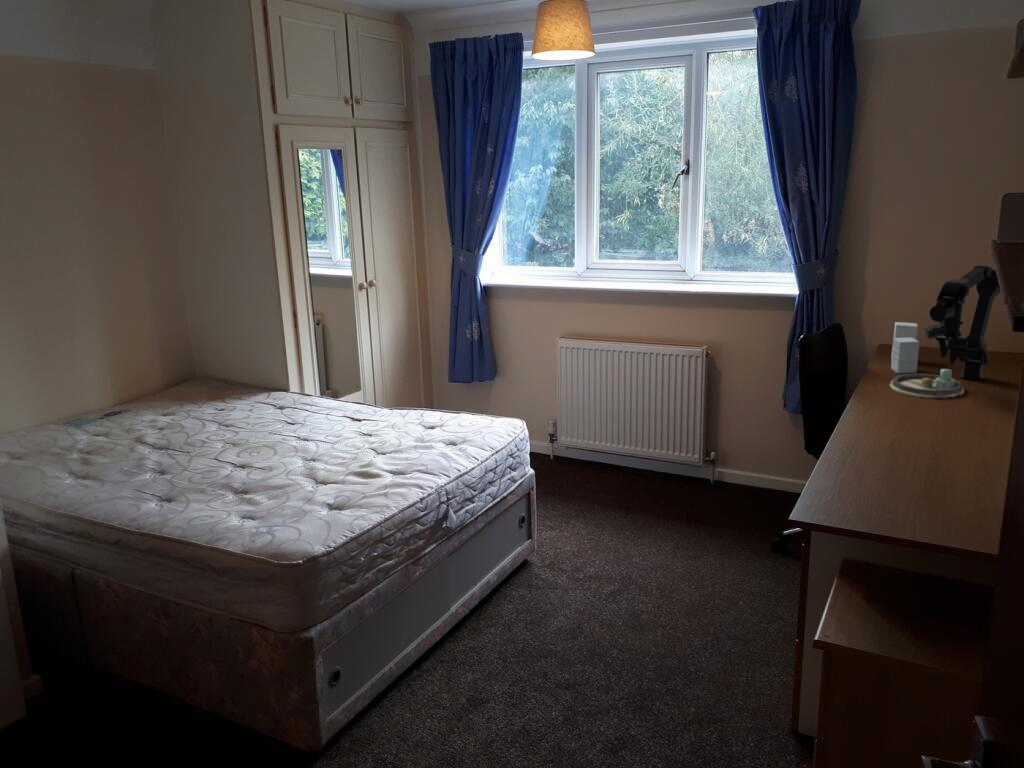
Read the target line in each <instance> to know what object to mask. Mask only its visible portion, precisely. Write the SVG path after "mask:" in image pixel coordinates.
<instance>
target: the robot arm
mask: <svg viewBox="0 0 1024 768" xmlns="http://www.w3.org/2000/svg"><path fill="white" fill-rule="evenodd" d="M996 271H997V270H995V269H993V267H991V266H989V265H979V264H978V265H975V266H974V267H973V268H972V269H971V270H970V271H968V272H966V273H965V274H964V275H963V276H961V277H960V278H956V279H950V280H948V281H947V280H946V281H945V283H944V284H943V285H942V286H941V288H940V291H939V293H938V295H937V297H936V300H935V301H936V303H935V305H934V306H932V307H931V308H930V310H929V318H931V320H932V321H933V322H937V323H936V324H932V325H928V326H926V327H923V329H922V330H923V333H924V336H925V338H927V339H929V340H931V339H935V340H936V341H937V343H938V347H939V350H940V351H939V353H940V357H941V358H945V357H946V356H947V353H948V357H949V359H948V360H949V364H951V365H952V364H954V363H955V362H956V361H957V359H958V360H959V362H962V363H963V362H964V364H963V365H964V367H963V374H961V375H958V378H960V379H964V380H969V381H972V382H973V381H975V382H978V381H980V380H983V379H985V378H986V377H985V376H983V375H982V370H983V369H982V368H983V366H986V365H988V364H989V363H990V358H991V357H990V355H989V352H988V351H987V346H988V345H987V342H986V339H985V333H986V330H987V326H988V322H989V319H990V314H991V311H992V308H993V304H994V303H993V302H994V300H995V298H996V297H997V296H998V295H999V294H1000V293H1001V292H1002V290H1000V286H999V282H998V278H997V274H996ZM974 286H976V287H975V289H976V291H977V295H978V299H977V302H976V306H975V311H974V314H973V318H972V322H971V325H970V329H969V334H968V335H967V336H966V337H964V336H963V335H962V334H963V333H962V332H961V331H960V330H961V325H964V324H963V323H964V322H963V321H962V316H963V307H964V306H963V305H964V304H966V298H967V296H969V294H970V289H972V288H973V287H974Z"/></svg>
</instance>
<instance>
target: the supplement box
mask: <svg viewBox="0 0 1024 768" xmlns="http://www.w3.org/2000/svg"><path fill="white" fill-rule="evenodd" d="M892 347H893V349H892V348H891V355H892V360H891V362H890V363H891V364H890V369H891V370H892V371H894V372H895V373H896V372H897V373H896V374H918V373H917V372H918V359H919V352H920V341H919V340H917V338H916V339H914V338H912V337H910V338H894V337H893V339H892Z"/></svg>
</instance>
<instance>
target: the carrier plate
mask: <svg viewBox="0 0 1024 768" xmlns="http://www.w3.org/2000/svg"><path fill="white" fill-rule="evenodd" d="M938 377H940V374H939V375H938V374H933V373H932V374H931V373H929V374H928V373H902V374H900V375H897V376H894V377H893V378H892V380H891V381H890V382H889V388H890V387H891V388H890V389H891V390H892V389H893V390H892V391H894V392H896V393H898V392H899V394H901V393H902V395H904V394H905V395H906V396H909V395H910V397H914V396H915V398H921V397H922V398H923V399H935V398H942V399H949V398H948V397H953V398H956V397H955V396H958V397H960V396H962V395H963V394H964V393H965V387H964V386H963V385H962V382H961V381H959V380H957V379H956V378H953V377H951V378H952V379H954V380H955V387H954V388H950V389H947V388H939V387H936V386H935V379H936V378H938ZM959 395H960V396H959Z"/></svg>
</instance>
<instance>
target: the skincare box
mask: <svg viewBox="0 0 1024 768" xmlns="http://www.w3.org/2000/svg"><path fill="white" fill-rule="evenodd" d="M918 325H919V324H918V323H917V322H902V321H896V322H894V329H893V338H910V337H912V338H914V339H916V340H917V338H918V337H917V336H918V329H919V326H918ZM892 349H893V346H892V347H891V350H892ZM890 360H891V361H892V354H891V357H890Z"/></svg>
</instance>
